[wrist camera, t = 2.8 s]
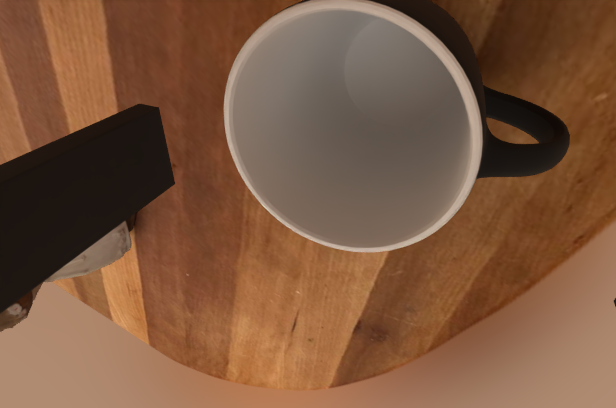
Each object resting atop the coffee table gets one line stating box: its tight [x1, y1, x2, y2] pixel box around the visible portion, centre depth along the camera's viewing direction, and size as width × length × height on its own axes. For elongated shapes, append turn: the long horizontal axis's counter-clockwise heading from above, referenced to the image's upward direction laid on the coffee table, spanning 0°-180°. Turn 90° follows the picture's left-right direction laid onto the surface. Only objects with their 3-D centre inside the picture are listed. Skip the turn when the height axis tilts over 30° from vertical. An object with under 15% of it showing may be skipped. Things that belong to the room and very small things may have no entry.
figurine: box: [0, 214, 136, 332], centre depth 32 cm, size 8×7×15 cm
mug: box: [224, 0, 570, 252], centre depth 16 cm, size 12×9×10 cm
